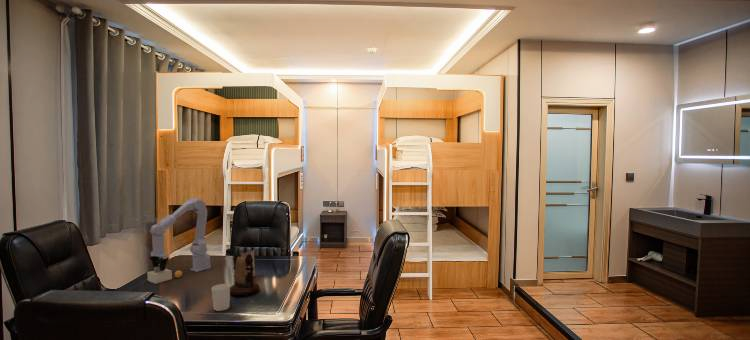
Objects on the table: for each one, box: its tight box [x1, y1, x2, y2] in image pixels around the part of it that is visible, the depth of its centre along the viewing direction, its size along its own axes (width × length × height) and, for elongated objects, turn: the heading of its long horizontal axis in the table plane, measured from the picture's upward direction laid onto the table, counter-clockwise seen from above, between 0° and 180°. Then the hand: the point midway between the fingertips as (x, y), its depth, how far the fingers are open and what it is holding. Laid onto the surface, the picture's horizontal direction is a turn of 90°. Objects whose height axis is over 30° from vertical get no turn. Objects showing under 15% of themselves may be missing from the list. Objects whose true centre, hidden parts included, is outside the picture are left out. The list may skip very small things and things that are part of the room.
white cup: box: [211, 283, 231, 312], centre depth 172 cm, size 8×8×10 cm
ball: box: [173, 269, 183, 278], centre depth 216 cm, size 4×4×4 cm
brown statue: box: [230, 252, 260, 298], centre depth 191 cm, size 15×15×20 cm
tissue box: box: [147, 266, 173, 285], centre depth 212 cm, size 9×9×8 cm
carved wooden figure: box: [240, 250, 256, 277], centre depth 211 cm, size 11×7×15 cm, turn 149°
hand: (159, 269), depth 212 cm, fingers open, 7 cm apart
